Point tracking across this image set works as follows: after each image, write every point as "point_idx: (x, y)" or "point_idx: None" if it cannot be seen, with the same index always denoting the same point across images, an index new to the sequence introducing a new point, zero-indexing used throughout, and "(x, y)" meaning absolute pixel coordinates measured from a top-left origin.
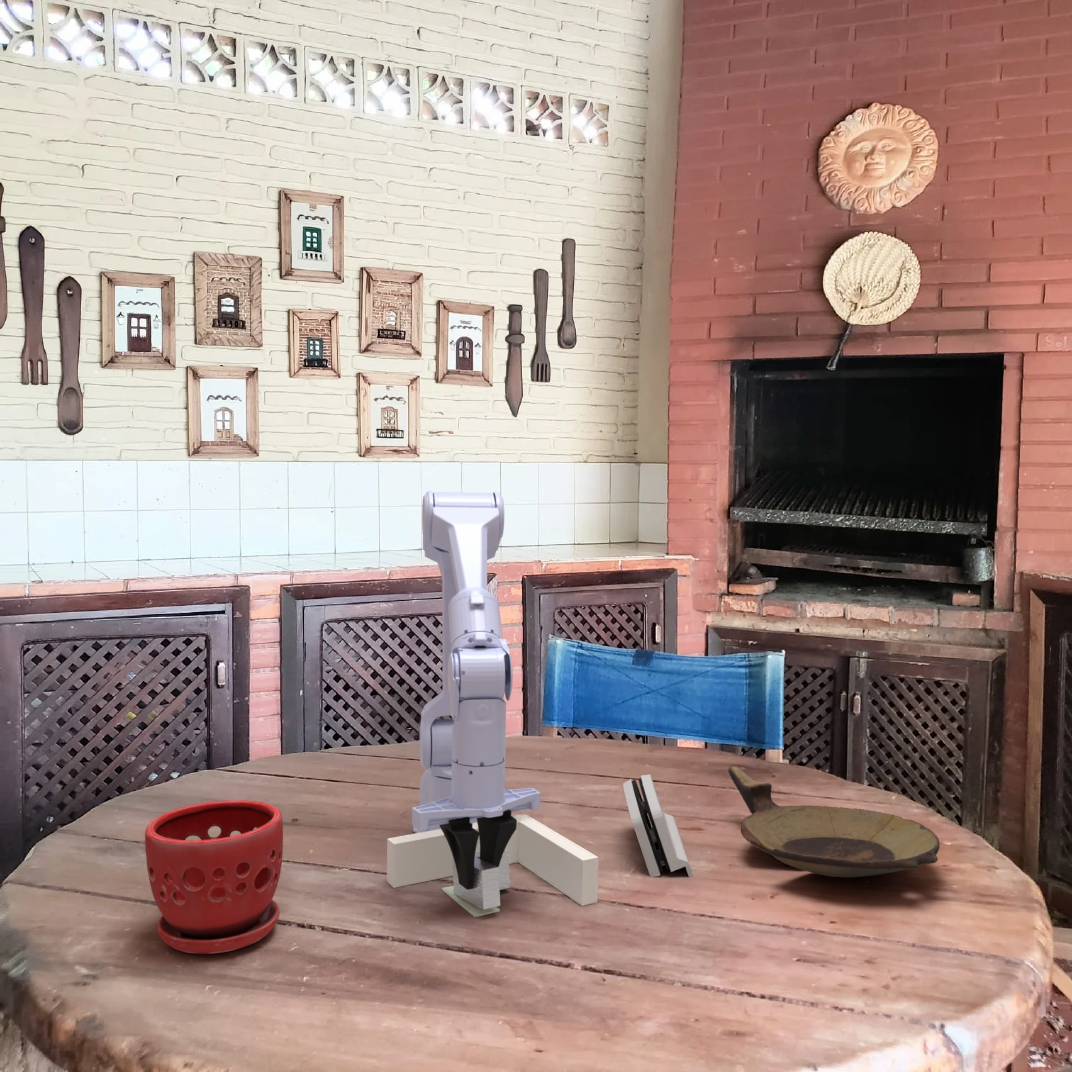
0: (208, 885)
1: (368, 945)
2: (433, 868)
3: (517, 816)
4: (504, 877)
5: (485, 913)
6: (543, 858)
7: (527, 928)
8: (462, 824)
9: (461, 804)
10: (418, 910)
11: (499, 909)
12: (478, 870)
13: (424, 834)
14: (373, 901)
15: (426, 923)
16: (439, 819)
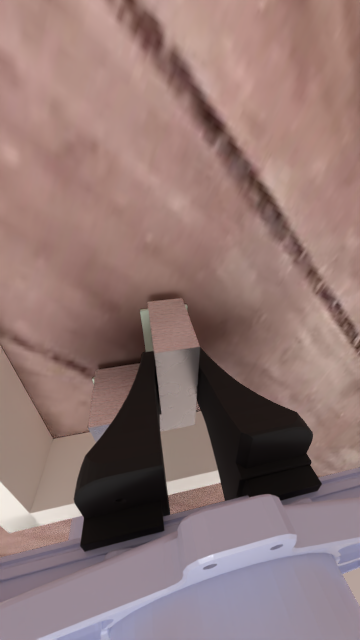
0: None
1: (351, 277)
2: (188, 427)
3: (27, 525)
4: (104, 383)
5: None
6: (9, 420)
7: (116, 227)
8: (272, 474)
9: (340, 571)
10: (243, 348)
11: (140, 311)
12: (198, 355)
13: (207, 480)
14: (272, 381)
15: (255, 310)
16: (347, 492)
